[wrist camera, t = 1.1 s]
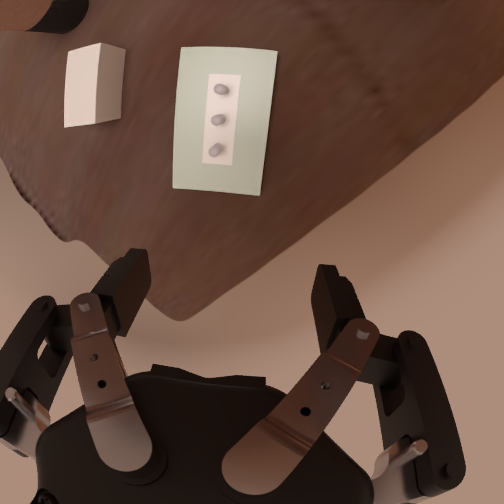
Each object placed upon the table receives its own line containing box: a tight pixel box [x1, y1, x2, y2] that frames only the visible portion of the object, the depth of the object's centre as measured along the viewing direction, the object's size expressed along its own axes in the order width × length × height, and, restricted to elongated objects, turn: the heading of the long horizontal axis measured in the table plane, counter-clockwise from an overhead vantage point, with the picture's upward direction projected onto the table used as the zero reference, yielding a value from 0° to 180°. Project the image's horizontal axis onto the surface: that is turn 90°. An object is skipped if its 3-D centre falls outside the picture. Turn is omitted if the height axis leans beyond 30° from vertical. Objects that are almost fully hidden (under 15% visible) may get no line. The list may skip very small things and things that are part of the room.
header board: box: [173, 47, 278, 196], centre depth 28 cm, size 18×11×5 cm, turn 174°
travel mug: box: [0, 0, 88, 34], centre depth 11 cm, size 8×8×20 cm
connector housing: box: [64, 43, 126, 128], centre depth 25 cm, size 10×5×6 cm, turn 174°
